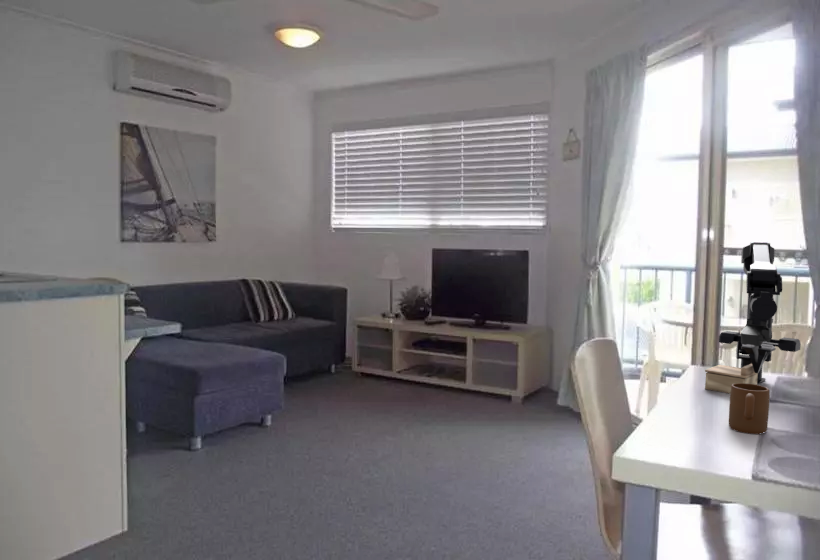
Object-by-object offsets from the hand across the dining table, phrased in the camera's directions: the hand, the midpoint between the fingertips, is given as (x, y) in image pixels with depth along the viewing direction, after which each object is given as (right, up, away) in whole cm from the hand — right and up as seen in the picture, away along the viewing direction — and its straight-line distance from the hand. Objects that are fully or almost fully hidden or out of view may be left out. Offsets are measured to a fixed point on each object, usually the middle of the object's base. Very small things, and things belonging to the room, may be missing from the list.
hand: (756, 373), depth 180 cm
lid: (-5, 0, +4) cm, 6 cm away
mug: (-20, -8, -36) cm, 42 cm away
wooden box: (-5, -5, +5) cm, 8 cm away
